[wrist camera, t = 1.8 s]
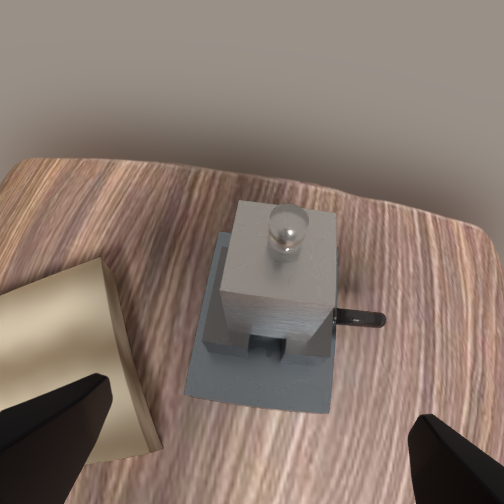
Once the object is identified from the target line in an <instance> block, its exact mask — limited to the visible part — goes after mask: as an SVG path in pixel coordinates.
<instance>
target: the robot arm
mask: <svg viewBox="0 0 504 504" xmlns="http://www.w3.org/2000/svg"><path fill="white" fill-rule="evenodd" d="M112 402H113V395H112V390H111V384H110V379H109V378H108V377H107V376H106V375H102V374H99V373H93V374H91V375H89V376H86V377H84V378H81V379H79V380H77V381H74V382H72V383H70V384H67V385H65V386H62V387H60V388H57V389H55V390H52V391H50V392H47V393H45V394H42V395H40V396H37V397H35V398H32V399H30V400H27V401H25V402H22V403H20V404H17V405H14V406H12V407H9V408H6V409H4V410H1V412H0V504H64V502H65V500H66V498H67V497H68V495H69V493H70V491H71V489H72V487H73V485H74V483H75V481H76V479H77V478H78V476H79V474H80V472H81V470H82V468H83V466H84V464H85V463H86V461H87V459H88V457H89V455H90V453H91V452H92V450H93V448H94V446H95V444H96V442H97V440H98V437H99V435H100V432H101V430H102V427H103V425H104V422H105V420H106V417H107V415H108V412H109V410H110V408H111V405H112ZM408 447H409V457H410V467H411V478H412V484H413V490H414V495H415V500H416V504H504V466H502V465H501V464H500V463H498V462H497V461H495V460H494V459H493V458H491V457H490V456H489V455H487V454H486V453H484V452H483V451H482V450H480V449H479V448H478V447H476V446H475V445H474V444H472V443H471V442H469V441H468V440H467V439H465V438H464V437H463V436H461V435H460V434H459V433H457V432H456V431H455V430H453V429H452V428H451V427H449V426H448V425H447V424H445V423H444V422H443V421H441V420H440V419H439V418H437V417H436V416H435V415H433V414H422V415H420V416H419V417H418V418H417V420H416V422H415V423H414V425H413V427H412V429H411V430H410V432H409V435H408Z"/></svg>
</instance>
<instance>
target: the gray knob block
mask: <svg viewBox="0 0 504 504" xmlns="http://www.w3.org/2000/svg"><path fill="white" fill-rule="evenodd" d="M220 294H221V299H222V304H223V309H224V314H225V319H226V324H227V329H228V331H232V332H239V333H245V334H252V335H260V336H267V337H275V338H283V339H291V340H300V341H309V340H310V339H311V337H312V336H313V335H314V333H315V332H316V331H317V329H318V328H319V327H320V325H321V324H322V323H323V321H324V320H325V319H326V317H327V316H328V315H329V313H330V312H331V310H332V309H333V308H334V306H335V297H336V213H331V212H324V211H318V210H311V209H304V208H301V207H299V206H297V205H294V204H281V205H274V204H267V203H259V202H251V201H242V200H239V202H238V207H237V211H236V216H235V221H234V225H233V230H232V234H231V239H230V244H229V248H228V253H227V258H226V263H225V267H224V272H223V277H222V282H221V287H220Z"/></svg>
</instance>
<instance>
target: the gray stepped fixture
mask: <svg viewBox="0 0 504 504" xmlns="http://www.w3.org/2000/svg"><path fill="white" fill-rule="evenodd" d="M231 234H232V233H227V232H219V234H218V239H217V243H216V247H215V251H214V255H213V260H212V264H211V268H210V273H209V277H208V281H207V286H206V290H205V295H204V299H203V304H202V308H201V313H200V317H199V322H198V327H197V331H196V336H195V341H194V346H193V351H192V355H191V360H190V365H189V370H188V375H187V380H186V386H185V391H184V395H187V396H190V397H195V398H200V399H205V400H210V401H216V402H221V403H227V404H233V405H240V406H247V407H254V408H262V409H270V410H279V411H289V412H301V413H315V414H328V413H329V410H330V401H331V391H332V380H333V368H334V355H335V339H336V324H339V325H349V326H360V327H372V328H381V327H383V326H384V325H385V324H386V316H385V315H384V314H383V313H379V312H369V311H359V310H349V309H340V308H337V294H338V247H336V297H335V306H334V308H333V309H332V310H331V312H330V313H329V315H328V316H327V317H326V319H325V320H324V321H323V323H322V324H321V325H320V327H319V328H318V329H317V331H316V332H315V333H314V335H313V336H312V337H311V339H310V340H309V341H300V340H291V339H283V338H275V337H267V336H260V335H252V334H245V333H239V332H232V331H228V329H227V324H226V319H225V314H224V309H223V304H222V299H221V294H220V287H221V282H222V277H223V272H224V267H225V263H226V258H227V253H228V248H229V244H230V239H231Z"/></svg>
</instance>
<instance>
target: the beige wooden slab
mask: <svg viewBox="0 0 504 504" xmlns="http://www.w3.org/2000/svg"><path fill="white" fill-rule="evenodd" d="M93 373H99V374H102V375H106V376H107V377H108V378H109V379H110V384H111V390H112V395H113V402H112V405H111V408H110V410H109V412H108V415H107V417H106V420H105V422H104V425H103V427H102V430H101V432H100V435H99V437H98V440H97V442H96V444H95V446H94V448H93V450H92V452H91V453H90V455H89V457H88V459H87V461H86V463H85V464H93V463H99V462H106V461H112V460H118V459H123V458H128V457H134V456H138V455H143V454H148V453H152V452H155V451H158V450H161V449H163V448H162V445H161V443H160V440H159V437H158V435H157V432H156V429H155V426H154V424H153V421H152V418H151V415H150V412H149V409H148V406H147V403H146V400H145V397H144V394H143V391H142V387H141V384H140V381H139V377H138V374H137V370H136V367H135V363H134V360H133V356H132V352H131V348H130V344H129V340H128V336H127V332H126V328H125V324H124V319H123V315H122V310H121V306H120V301H119V296H118V291H117V286H116V280H115V275H114V274H113V273H112V271H111V270H110V269H109V267H108V266H107V265H106V263H105V262H104V261H103V260H102V258H101V257H99V258H96V259H93V260H91V261H88V262H85V263H83V264H80V265H77V266H75V267H72V268H69V269H67V270H64V271H61V272H59V273H56V274H53V275H51V276H48V277H46V278H43V279H40V280H38V281H35V282H33V283H30V284H28V285H25V286H23V287H20V288H18V289H15V290H13V291H10V292H8V293H6V294H3V295H1V296H0V412H1V410H4V409H6V408H9V407H12V406H14V405H17V404H20V403H22V402H25V401H27V400H30V399H32V398H35V397H37V396H40V395H42V394H45V393H47V392H50V391H52V390H55V389H57V388H60V387H62V386H65V385H67V384H70V383H72V382H74V381H77V380H79V379H81V378H84V377H86V376H89V375H91V374H93ZM85 464H84V465H85Z"/></svg>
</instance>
